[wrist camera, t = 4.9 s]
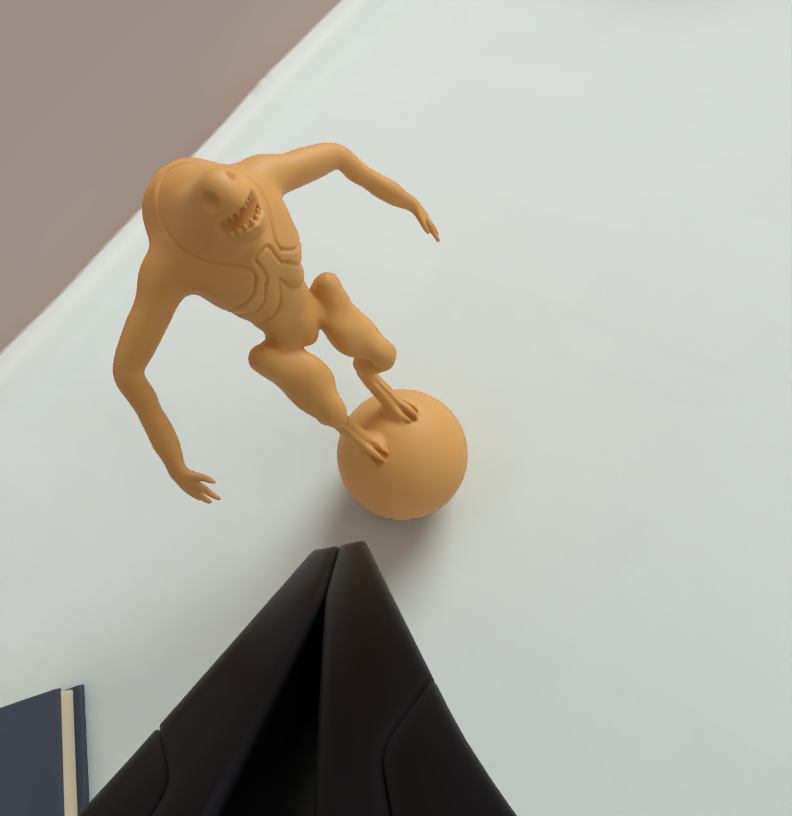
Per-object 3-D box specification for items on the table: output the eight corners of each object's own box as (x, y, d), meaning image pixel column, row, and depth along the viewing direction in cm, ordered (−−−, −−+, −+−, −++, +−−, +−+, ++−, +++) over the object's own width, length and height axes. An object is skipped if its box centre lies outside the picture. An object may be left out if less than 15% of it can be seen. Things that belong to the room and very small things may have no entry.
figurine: (380, 612, 16) (173, 589, 5) (248, 500, 18) (-100, 313, 7) (527, 408, 18) (602, 73, 7) (391, 327, 20) (287, -30, 9)
